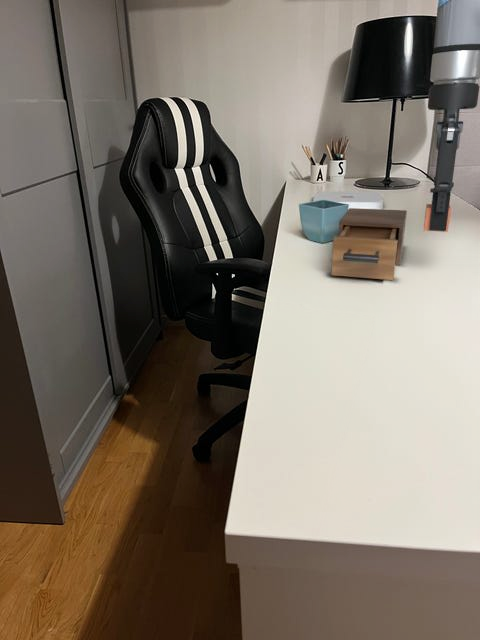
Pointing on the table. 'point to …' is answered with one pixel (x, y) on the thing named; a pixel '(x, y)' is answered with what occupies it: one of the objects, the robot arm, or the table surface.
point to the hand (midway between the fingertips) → (437, 226)
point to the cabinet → (377, 222)
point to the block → (428, 218)
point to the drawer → (365, 252)
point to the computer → (352, 198)
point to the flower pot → (321, 219)
